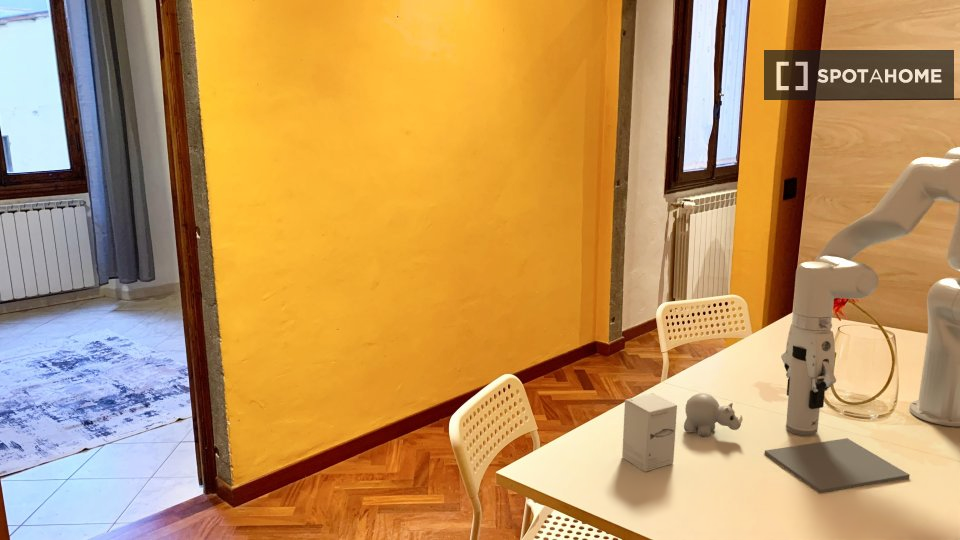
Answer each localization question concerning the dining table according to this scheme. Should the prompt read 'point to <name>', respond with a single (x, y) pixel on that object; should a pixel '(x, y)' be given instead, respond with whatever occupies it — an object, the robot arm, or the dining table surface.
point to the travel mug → (801, 397)
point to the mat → (835, 465)
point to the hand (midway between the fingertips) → (804, 400)
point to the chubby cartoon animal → (708, 415)
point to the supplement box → (649, 431)
